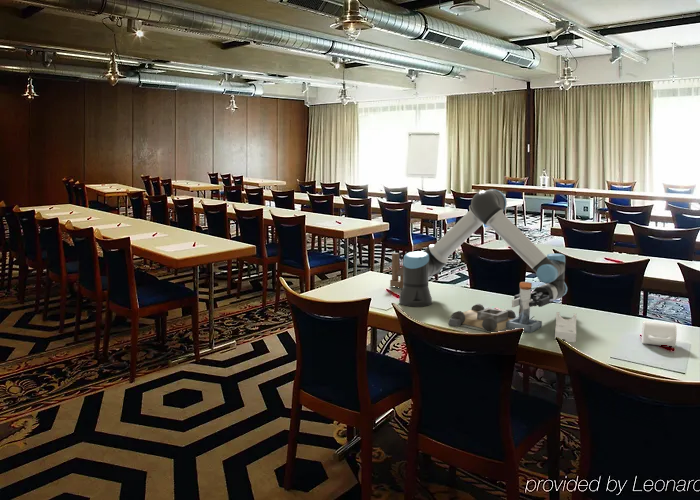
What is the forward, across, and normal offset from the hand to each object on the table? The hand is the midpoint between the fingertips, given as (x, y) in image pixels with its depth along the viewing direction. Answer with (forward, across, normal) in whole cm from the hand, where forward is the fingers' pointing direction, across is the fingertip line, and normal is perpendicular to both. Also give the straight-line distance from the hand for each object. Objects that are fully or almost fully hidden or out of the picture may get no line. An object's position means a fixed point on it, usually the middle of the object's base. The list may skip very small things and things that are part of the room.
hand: (518, 304), depth 209 cm
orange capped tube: (-5, 0, -8) cm, 10 cm away
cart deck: (0, +15, -10) cm, 18 cm away
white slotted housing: (-16, -45, -11) cm, 49 cm away
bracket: (-6, -16, -11) cm, 20 cm away
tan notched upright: (-28, +80, -11) cm, 86 cm away
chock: (+10, +22, -10) cm, 26 cm away
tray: (-5, 0, -10) cm, 12 cm away
